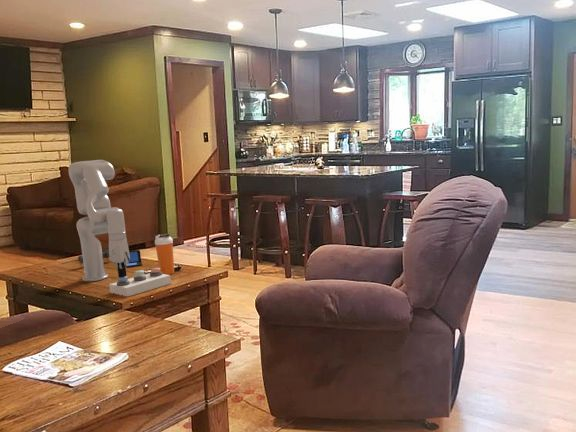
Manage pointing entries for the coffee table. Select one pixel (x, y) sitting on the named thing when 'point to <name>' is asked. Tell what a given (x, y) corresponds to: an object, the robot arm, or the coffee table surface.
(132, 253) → the object
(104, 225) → the robot arm
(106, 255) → the bomb
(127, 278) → the button slate
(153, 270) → the button terracotta
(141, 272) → the button sage
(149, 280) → the button panel
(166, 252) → the shaker bottle
